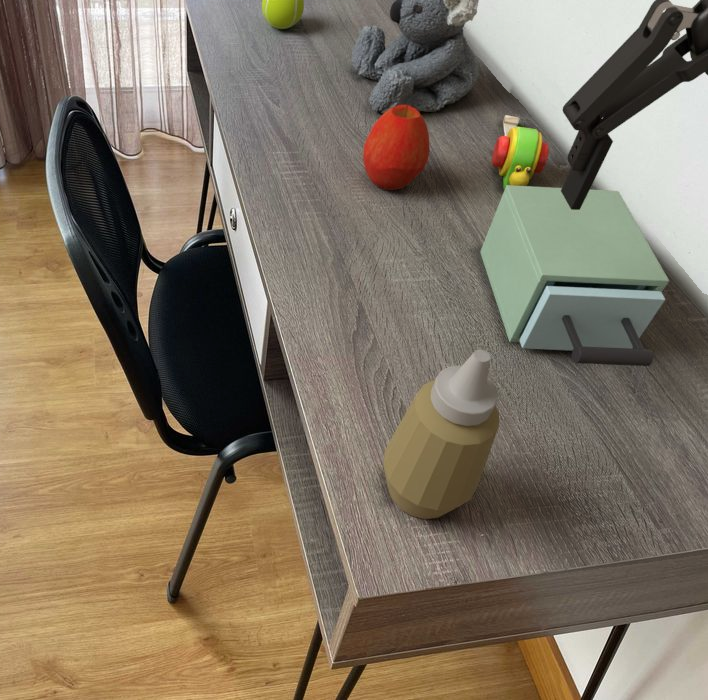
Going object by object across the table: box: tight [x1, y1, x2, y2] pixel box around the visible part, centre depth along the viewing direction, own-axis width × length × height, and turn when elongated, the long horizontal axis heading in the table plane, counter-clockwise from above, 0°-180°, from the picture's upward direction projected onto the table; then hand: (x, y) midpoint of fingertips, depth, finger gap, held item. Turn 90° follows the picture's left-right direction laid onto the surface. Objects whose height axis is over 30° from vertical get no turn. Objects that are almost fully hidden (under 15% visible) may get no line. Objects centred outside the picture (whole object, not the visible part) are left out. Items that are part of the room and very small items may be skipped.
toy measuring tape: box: [491, 114, 550, 191], centre depth 99 cm, size 6×20×7 cm, turn 167°
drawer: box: [519, 281, 666, 367], centre depth 76 cm, size 19×11×8 cm, turn 0°
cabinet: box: [479, 185, 670, 343], centre depth 79 cm, size 15×13×10 cm
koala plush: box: [351, 0, 480, 115], centre depth 106 cm, size 17×18×20 cm
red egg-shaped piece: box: [362, 105, 430, 191], centre depth 92 cm, size 8×8×11 cm
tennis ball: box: [261, 0, 305, 30], centre depth 122 cm, size 7×7×7 cm
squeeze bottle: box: [382, 349, 500, 520], centre depth 58 cm, size 8×8×18 cm
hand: (646, 203), depth 63 cm, fingers open, 13 cm apart
